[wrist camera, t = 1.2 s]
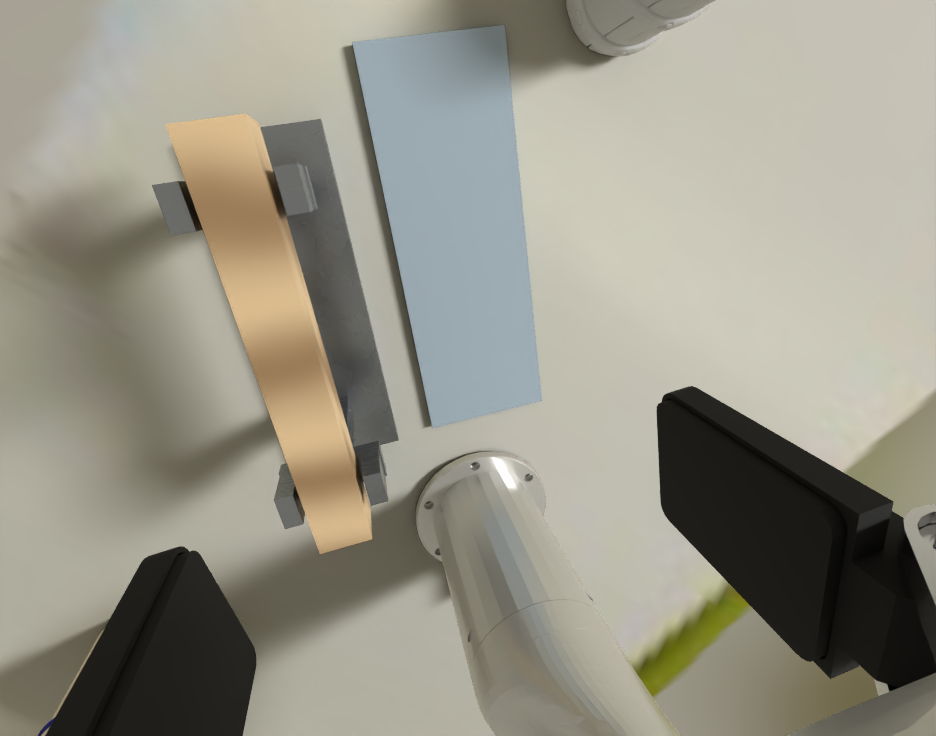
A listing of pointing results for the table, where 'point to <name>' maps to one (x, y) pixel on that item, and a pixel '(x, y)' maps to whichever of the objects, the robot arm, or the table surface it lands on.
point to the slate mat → (455, 214)
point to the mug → (628, 22)
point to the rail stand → (319, 295)
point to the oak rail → (275, 318)
